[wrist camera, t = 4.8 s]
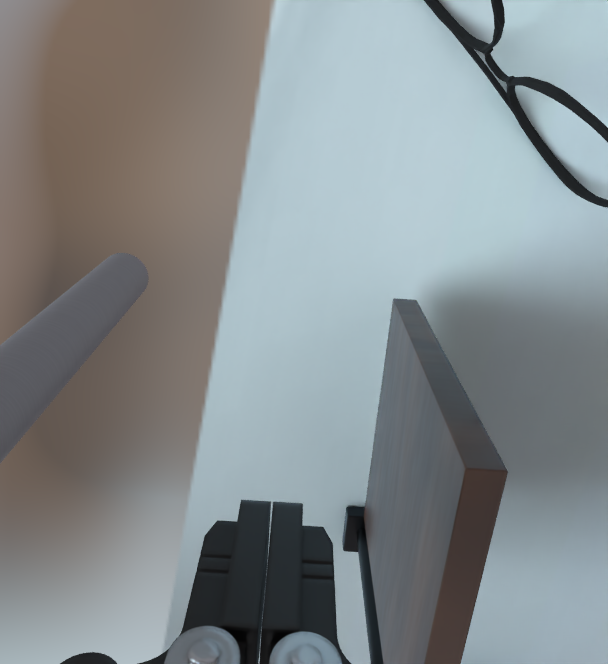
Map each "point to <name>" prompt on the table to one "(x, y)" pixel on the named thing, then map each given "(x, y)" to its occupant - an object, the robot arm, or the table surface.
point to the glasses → (535, 84)
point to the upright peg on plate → (363, 575)
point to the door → (427, 498)
